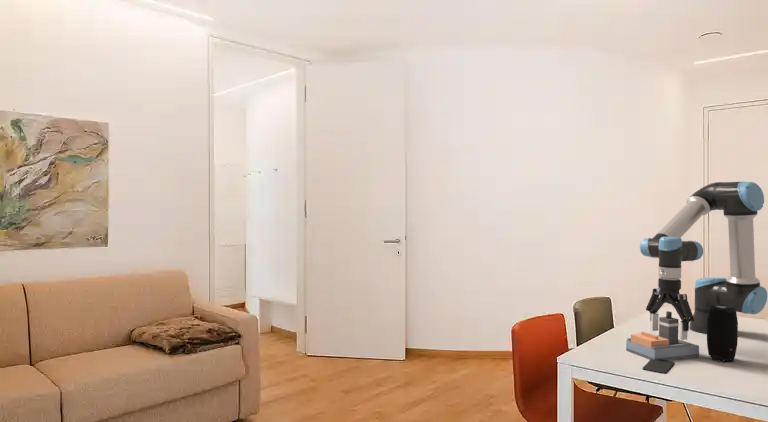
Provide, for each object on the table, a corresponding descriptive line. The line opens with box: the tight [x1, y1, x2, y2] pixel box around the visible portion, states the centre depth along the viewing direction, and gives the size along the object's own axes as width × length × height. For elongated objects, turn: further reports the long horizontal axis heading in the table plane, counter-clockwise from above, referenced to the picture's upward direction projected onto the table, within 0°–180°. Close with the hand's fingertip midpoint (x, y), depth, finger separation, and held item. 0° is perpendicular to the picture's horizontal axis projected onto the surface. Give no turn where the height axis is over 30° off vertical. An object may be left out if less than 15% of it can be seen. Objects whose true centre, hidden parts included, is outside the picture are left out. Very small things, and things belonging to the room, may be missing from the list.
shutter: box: [630, 331, 669, 348], centre depth 201 cm, size 8×10×4 cm
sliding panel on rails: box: [625, 337, 700, 361], centre depth 202 cm, size 20×14×5 cm
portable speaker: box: [706, 303, 739, 363], centre depth 195 cm, size 9×9×20 cm
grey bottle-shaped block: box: [658, 310, 680, 345], centre depth 203 cm, size 5×5×14 cm
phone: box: [642, 359, 675, 375], centre depth 187 cm, size 7×1×15 cm
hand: (668, 335), depth 203 cm, fingers open, 13 cm apart
